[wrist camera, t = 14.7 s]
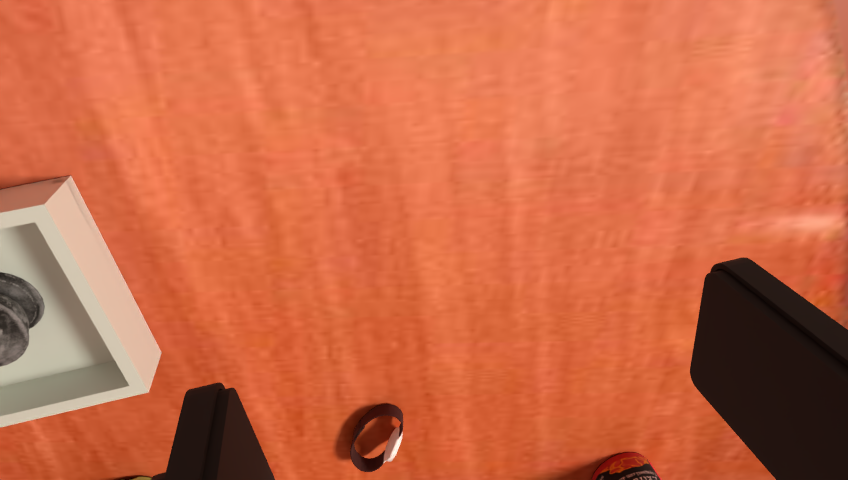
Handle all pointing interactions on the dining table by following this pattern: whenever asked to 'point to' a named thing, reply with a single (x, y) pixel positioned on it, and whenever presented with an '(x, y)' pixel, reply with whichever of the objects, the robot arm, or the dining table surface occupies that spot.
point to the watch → (391, 446)
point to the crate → (69, 308)
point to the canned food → (626, 468)
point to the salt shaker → (17, 316)
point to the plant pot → (141, 478)
